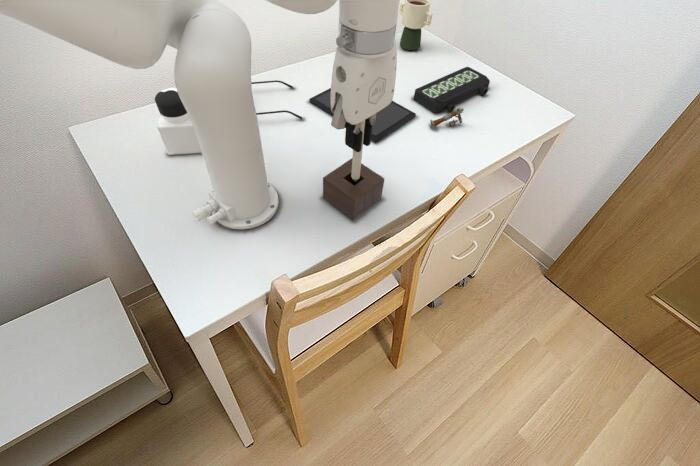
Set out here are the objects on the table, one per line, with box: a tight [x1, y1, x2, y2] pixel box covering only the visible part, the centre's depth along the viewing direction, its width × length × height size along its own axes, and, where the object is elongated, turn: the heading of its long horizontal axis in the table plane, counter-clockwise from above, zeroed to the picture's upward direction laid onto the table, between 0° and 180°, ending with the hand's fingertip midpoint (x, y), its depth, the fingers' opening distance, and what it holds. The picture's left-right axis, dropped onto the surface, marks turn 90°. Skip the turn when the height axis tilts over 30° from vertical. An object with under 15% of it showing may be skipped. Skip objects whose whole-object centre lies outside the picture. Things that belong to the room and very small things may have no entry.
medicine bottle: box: [154, 87, 202, 156], centre depth 78 cm, size 7×7×12 cm
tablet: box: [308, 87, 417, 144], centre depth 94 cm, size 15×22×1 cm
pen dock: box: [322, 157, 385, 221], centre depth 73 cm, size 8×8×6 cm
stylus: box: [351, 120, 365, 182], centre depth 66 cm, size 2×2×14 cm
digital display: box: [413, 66, 491, 114], centre depth 100 cm, size 21×3×10 cm
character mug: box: [398, 0, 433, 51], centre depth 111 cm, size 11×7×13 cm, turn 48°
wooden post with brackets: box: [429, 107, 465, 130], centre depth 91 cm, size 2×8×4 cm, turn 105°
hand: (357, 144), depth 65 cm, fingers closed on stylus, 1 cm apart
